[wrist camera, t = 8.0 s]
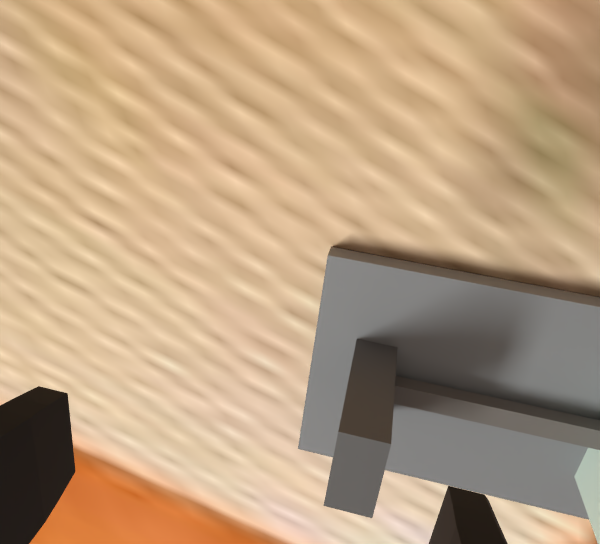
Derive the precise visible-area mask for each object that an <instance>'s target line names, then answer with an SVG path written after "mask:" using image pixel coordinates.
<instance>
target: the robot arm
mask: <svg viewBox="0 0 600 544" xmlns="http://www.w3.org/2000/svg"><path fill="white" fill-rule="evenodd" d="M74 473H75V463H74V453H73V443H72V433H71V423H70V413H69V404H68V394H67V393H64V392H59V391H55V390H51V389H47V388H43V387H37V388H34V389H32V390H30V391H28V392H26V393H24V394H22V395H20V396H18V397H16V398H14V399H12V400H10V401H8V402H6V403H4V404H3V405H1V406H0V544H29V543H30V542H31V540H32V539H33V538H34V536H35V535H36V534H37V532H38V531H39V530H40V528H41V527H42V526H43V524H44V523H45V521H46V520H47V518H48V517H49V515H50V513H51V512H52V510H53V509H54V507H55V505H56V504H57V502H58V500H59V499H60V497H61V495H62V494H63V492H64V490H65V488H66V487H67V485H68V483H69V482H70V480H71V478H72V476H73V475H74ZM429 544H507V541H506V539H505V537H504V535H503V533H502V530H501V528H500V526H499V524H498V521H497V519H496V517H495V514H494V512H493V510H492V507H491V505H490V503H489V501H488V499H487V498H486V496H485V495H483V494H479V493H475V492H471V491H467V490H463V489H459V488H454V487H450V486H448V489H447V492H446V495H445V498H444V500H443V503H442V506H441V509H440V512H439V515H438V518H437V521H436V524H435V527H434V530H433V533H432V536H431V539H430V542H429Z"/></svg>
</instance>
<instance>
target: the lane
mask: <svg viewBox="0 0 600 544" xmlns="http://www.w3.org/2000/svg"><path fill="white" fill-rule="evenodd" d="M357 339H361V340H365V341H370V342H375V343H380V344H384V345H389V346H394V347H397V362H396V376H399V377H403V378H408V379H413V380H417V381H422V382H426V383H431V384H436V385H440V386H445V387H449V388H454V389H458V390H463V391H468V392H472V393H477V394H481V395H486V396H490V397H495V398H500V399H504V400H509V401H513V402H518V403H523V404H527V405H532V406H536V407H541V408H545V409H550V410H555V411H559V412H564V413H568V414H573V415H577V416H582V417H587V418H591V419H596V420H600V297H595V296H590V295H585V294H579V293H574V292H569V291H563V290H558V289H553V288H548V287H542V286H537V285H532V284H526V283H521V282H516V281H510V280H505V279H500V278H495V277H489V276H484V275H479V274H473V273H468V272H463V271H457V270H452V269H447V268H441V267H436V266H431V265H426V264H420V263H415V262H410V261H404V260H399V259H394V258H388V257H383V256H378V255H373V254H367V253H362V252H357V251H351V250H346V249H341V248H335V247H331V249H330V251H329V254H328V258H327V264H326V271H325V277H324V284H323V290H322V297H321V303H320V310H319V316H318V323H317V329H316V336H315V342H314V349H313V355H312V362H311V368H310V375H309V381H308V388H307V394H306V401H305V407H304V414H303V420H302V427H301V433H300V440H299V446H298V449H301V450H305V451H309V452H313V453H317V454H321V455H326V456H330V457H333V456H334V451H335V446H336V441H337V436H338V430H339V425H340V420H341V415H342V410H343V405H344V400H345V395H346V390H347V385H348V380H349V375H350V370H351V365H352V360H353V355H354V350H355V345H356V340H357ZM587 449H588V447H583V446H579V445H574V444H570V443H566V442H561V441H557V440H552V439H548V438H543V437H539V436H535V435H530V434H526V433H521V432H517V431H512V430H508V429H504V428H499V427H495V426H490V425H486V424H481V423H477V422H473V421H468V420H464V419H459V418H455V417H450V416H446V415H441V414H437V413H433V412H428V411H424V410H419V409H415V408H410V407H406V406H402V405H397V404H394V409H393V425H392V440H391V447H390V451H389V455H388V459H387V463H386V466H385V470H387V471H391V472H396V473H400V474H404V475H408V476H412V477H416V478H420V479H424V480H428V481H433V482H437V483H441V484H445V485H449V486H453V487H457V488H461V489H466V490H470V491H474V492H478V493H482V494H486V495H490V496H494V497H498V498H503V499H507V500H511V501H515V502H519V503H523V504H527V505H531V506H536V507H540V508H544V509H548V510H552V511H556V512H560V513H564V514H568V515H573V516H577V517H581V518H585V519H589V517H588V514H587V511H586V508H585V506H584V503H583V500H582V497H581V494H580V491H579V489H578V486H577V483H576V480H575V477H574V476H575V474H576V472H577V470H578V468H579V466H580V464H581V462H582V460H583V458H584V455H585V453H586V451H587Z"/></svg>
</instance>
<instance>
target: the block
mask: <svg viewBox="0 0 600 544" xmlns="http://www.w3.org/2000/svg"><path fill="white" fill-rule="evenodd" d="M396 362H397V347H394V346H389V345H384V344H380V343H375V342H370V341H365V340H361V339H357V340H356V345H355V350H354V355H353V360H352V365H351V370H350V375H349V380H348V385H347V390H346V395H345V400H344V405H343V410H342V415H341V420H340V425H339V430H338V436H337V441H336V446H335V451H334V456H333V461H332V466H331V471H330V476H329V482H328V487H327V492H326V497H325V502H324V506H327V507H331V508H335V509H339V510H343V511H347V512H350V513H354V514H358V515H362V516H366V517H370V518H372V517H373V513H374V509H375V505H376V501H377V497H378V494H379V490H380V486H381V482H382V478H383V474H384V470H385V466H386V463H387V459H388V455H389V451H390V447H391V440H392V425H393V409H394V404H397V405H402V406H406V407H410V408H415V409H419V410H424V411H428V412H433V413H437V414H441V415H446V416H450V417H455V418H459V419H464V420H468V421H473V422H477V423H481V424H486V425H490V426H495V427H499V428H504V429H508V430H512V431H517V432H521V433H526V434H530V435H535V436H539V437H543V438H548V439H552V440H557V441H561V442H566V443H570V444H574V445H579V446H583V447H588V449H587V451H586V453H585V455H584V458H583V460H582V462H581V464H580V466H579V468H578V470H577V472H576V474H575V476H574V477H575V480H576V483H577V486H578V489H579V491H580V494H581V497H582V500H583V503H584V506H585V508H586V511H587V514H588V517H589V520H590V523H591V526H592V528H593V531H594V534H595V537H596V540H597V543H598V544H600V420H596V419H591V418H587V417H582V416H577V415H573V414H568V413H564V412H559V411H555V410H550V409H545V408H541V407H536V406H532V405H527V404H523V403H518V402H513V401H509V400H504V399H500V398H495V397H490V396H486V395H481V394H477V393H472V392H468V391H463V390H458V389H454V388H449V387H445V386H440V385H436V384H431V383H426V382H422V381H417V380H413V379H408V378H403V377H399V376H396Z"/></svg>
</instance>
